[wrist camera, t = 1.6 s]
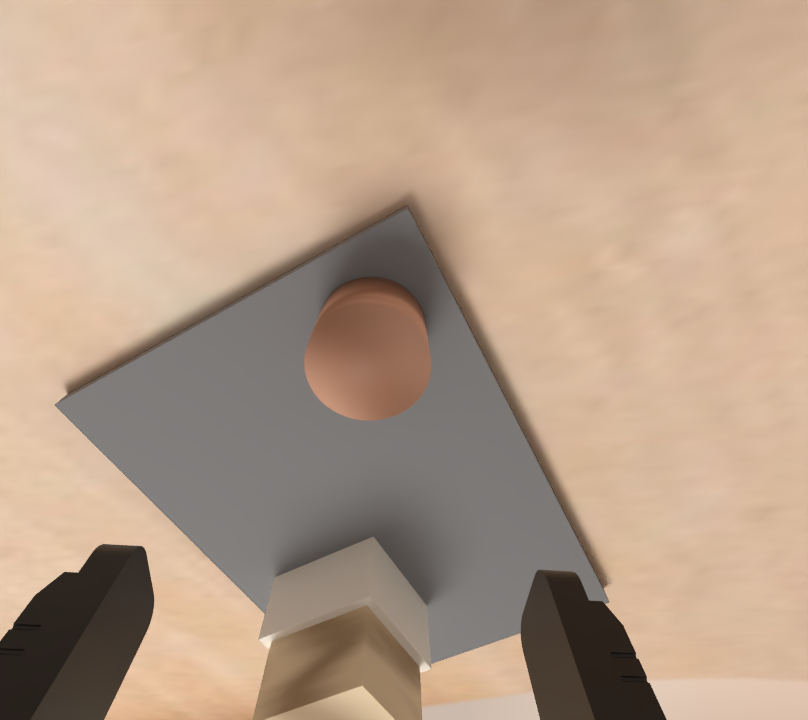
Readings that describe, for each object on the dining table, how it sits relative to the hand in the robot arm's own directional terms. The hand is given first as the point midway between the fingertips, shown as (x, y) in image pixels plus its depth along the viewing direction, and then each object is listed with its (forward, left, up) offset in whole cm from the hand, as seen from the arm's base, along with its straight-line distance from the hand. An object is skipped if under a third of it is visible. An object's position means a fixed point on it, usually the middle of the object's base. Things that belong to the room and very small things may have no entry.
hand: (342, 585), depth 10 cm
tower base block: (+10, +15, -14) cm, 23 cm away
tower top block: (+10, +15, -10) cm, 21 cm away
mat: (+6, +10, -15) cm, 19 cm away
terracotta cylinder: (0, 0, -14) cm, 14 cm away
